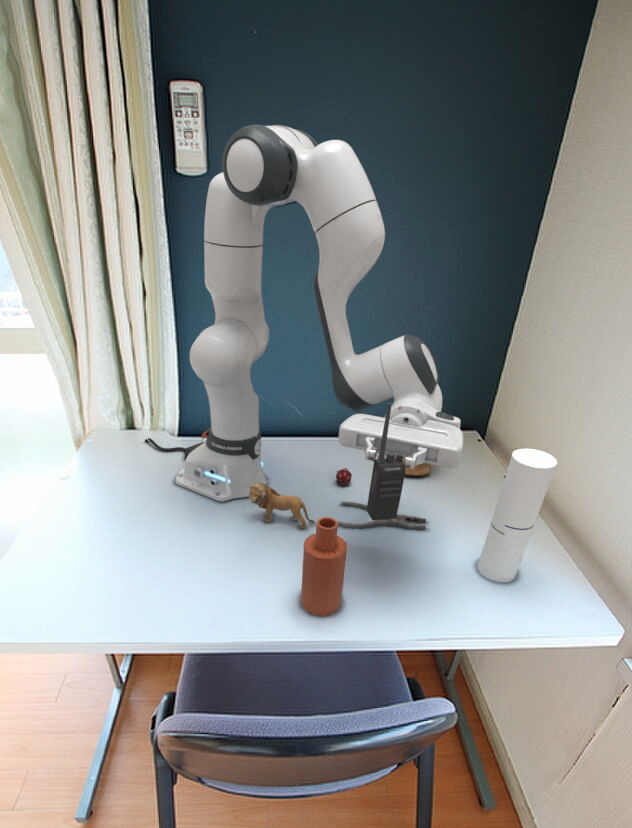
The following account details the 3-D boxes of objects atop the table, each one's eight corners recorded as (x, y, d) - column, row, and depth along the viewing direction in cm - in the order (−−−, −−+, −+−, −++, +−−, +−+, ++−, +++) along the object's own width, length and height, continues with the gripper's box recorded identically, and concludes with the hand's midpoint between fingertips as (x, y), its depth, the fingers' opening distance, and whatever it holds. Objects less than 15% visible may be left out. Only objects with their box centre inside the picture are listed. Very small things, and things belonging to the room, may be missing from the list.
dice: (354, 485, 127) (356, 471, 125) (338, 488, 126) (339, 474, 124) (347, 478, 130) (349, 464, 128) (331, 481, 129) (333, 467, 127)
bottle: (295, 609, 91) (298, 529, 81) (309, 584, 97) (314, 506, 87) (333, 620, 89) (341, 540, 79) (345, 594, 95) (354, 516, 85)
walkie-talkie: (371, 522, 85) (389, 409, 73) (364, 511, 88) (381, 400, 76) (398, 519, 86) (420, 407, 74) (391, 508, 89) (411, 398, 77)
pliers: (334, 500, 120) (419, 502, 120) (333, 503, 120) (419, 505, 120) (337, 524, 112) (428, 526, 112) (336, 527, 112) (427, 529, 112)
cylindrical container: (511, 587, 97) (553, 472, 83) (473, 573, 100) (508, 460, 86) (518, 567, 102) (560, 455, 88) (482, 554, 105) (517, 445, 91)
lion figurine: (246, 524, 113) (245, 489, 108) (251, 511, 117) (251, 476, 112) (313, 531, 111) (315, 495, 106) (315, 517, 115) (318, 483, 110)
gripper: (352, 399, 91) (327, 429, 81) (470, 420, 85) (460, 455, 75) (349, 431, 95) (325, 464, 85) (461, 454, 89) (450, 492, 79)
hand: (389, 460), depth 80 cm, fingers closed on walkie-talkie, 5 cm apart
